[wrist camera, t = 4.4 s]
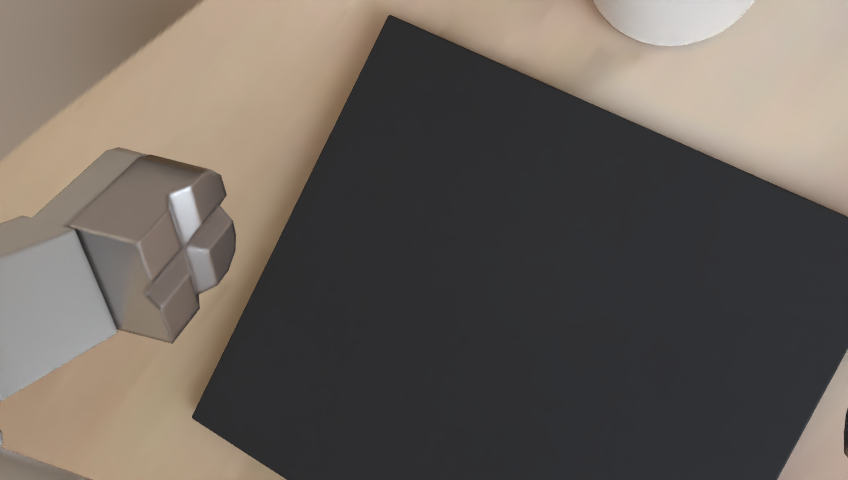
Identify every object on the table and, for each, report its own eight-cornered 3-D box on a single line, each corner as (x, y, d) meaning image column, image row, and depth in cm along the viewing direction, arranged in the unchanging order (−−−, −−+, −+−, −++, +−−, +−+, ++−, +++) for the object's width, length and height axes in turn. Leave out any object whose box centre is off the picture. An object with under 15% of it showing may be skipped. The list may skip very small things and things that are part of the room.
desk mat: (898, 243, 27) (905, 242, 26) (649, 704, 28) (649, 715, 27) (394, 20, 32) (388, 13, 31) (200, 415, 33) (190, 418, 32)
